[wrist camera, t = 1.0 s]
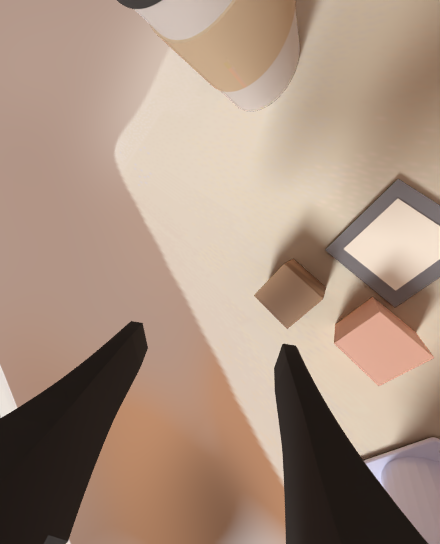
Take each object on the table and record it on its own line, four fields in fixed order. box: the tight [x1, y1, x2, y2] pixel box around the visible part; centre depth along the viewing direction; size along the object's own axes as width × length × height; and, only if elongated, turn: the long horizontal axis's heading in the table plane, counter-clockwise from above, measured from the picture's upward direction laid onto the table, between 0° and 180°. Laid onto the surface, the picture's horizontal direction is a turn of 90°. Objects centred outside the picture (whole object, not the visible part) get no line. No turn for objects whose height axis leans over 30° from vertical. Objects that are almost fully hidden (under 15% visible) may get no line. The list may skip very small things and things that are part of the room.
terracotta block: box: [334, 297, 434, 386], centre depth 16 cm, size 4×4×4 cm
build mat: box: [325, 179, 440, 307], centre depth 16 cm, size 7×7×1 cm
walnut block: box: [254, 259, 326, 329], centre depth 19 cm, size 4×4×4 cm
